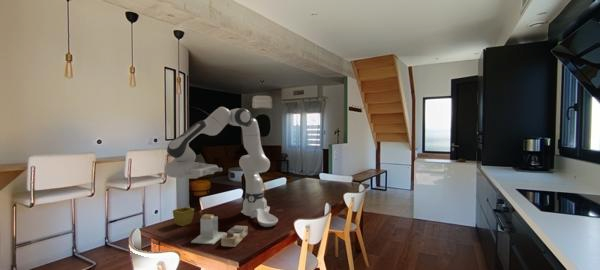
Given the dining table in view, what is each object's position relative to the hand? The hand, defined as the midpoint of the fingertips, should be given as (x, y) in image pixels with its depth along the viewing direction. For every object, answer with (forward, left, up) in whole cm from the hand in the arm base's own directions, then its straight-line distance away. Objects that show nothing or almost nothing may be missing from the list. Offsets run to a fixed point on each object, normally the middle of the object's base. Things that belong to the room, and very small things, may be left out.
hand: (217, 170), depth 147 cm
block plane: (+6, +12, -34) cm, 37 cm away
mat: (+6, -2, -34) cm, 35 cm away
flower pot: (-10, -27, -34) cm, 45 cm away
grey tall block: (+6, -2, -33) cm, 34 cm away
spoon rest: (-21, +18, -35) cm, 44 cm away
